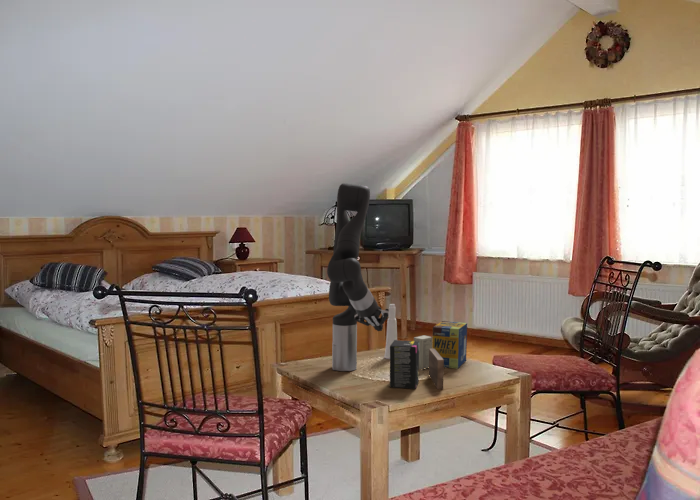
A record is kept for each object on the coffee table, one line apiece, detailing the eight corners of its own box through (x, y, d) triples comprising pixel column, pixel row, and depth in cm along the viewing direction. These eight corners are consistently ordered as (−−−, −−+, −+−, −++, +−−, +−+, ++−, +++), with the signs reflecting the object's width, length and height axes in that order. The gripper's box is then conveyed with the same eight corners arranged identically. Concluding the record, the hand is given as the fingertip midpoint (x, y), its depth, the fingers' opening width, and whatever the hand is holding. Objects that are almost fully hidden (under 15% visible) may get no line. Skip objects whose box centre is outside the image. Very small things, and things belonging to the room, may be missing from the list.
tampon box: (416, 389, 229) (416, 346, 228) (389, 387, 231) (389, 345, 230) (419, 381, 240) (419, 340, 239) (393, 379, 242) (393, 339, 241)
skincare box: (423, 365, 263) (424, 335, 262) (432, 368, 259) (433, 336, 259) (412, 368, 258) (413, 337, 258) (421, 370, 255) (422, 338, 254)
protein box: (431, 366, 262) (432, 326, 261) (441, 358, 276) (442, 320, 275) (458, 369, 258) (459, 328, 257) (466, 360, 273) (467, 322, 272)
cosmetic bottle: (398, 359, 273) (399, 305, 271) (383, 359, 274) (384, 305, 272) (399, 356, 279) (400, 303, 277) (384, 355, 280) (385, 303, 278)
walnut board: (437, 388, 230) (437, 359, 229) (428, 375, 248) (429, 348, 247) (443, 388, 230) (443, 359, 229) (434, 375, 248) (434, 348, 247)
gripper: (382, 288, 223) (398, 317, 235) (345, 294, 228) (363, 322, 240) (380, 307, 218) (397, 335, 230) (342, 312, 223) (361, 340, 235)
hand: (379, 328), depth 235 cm, fingers closed
